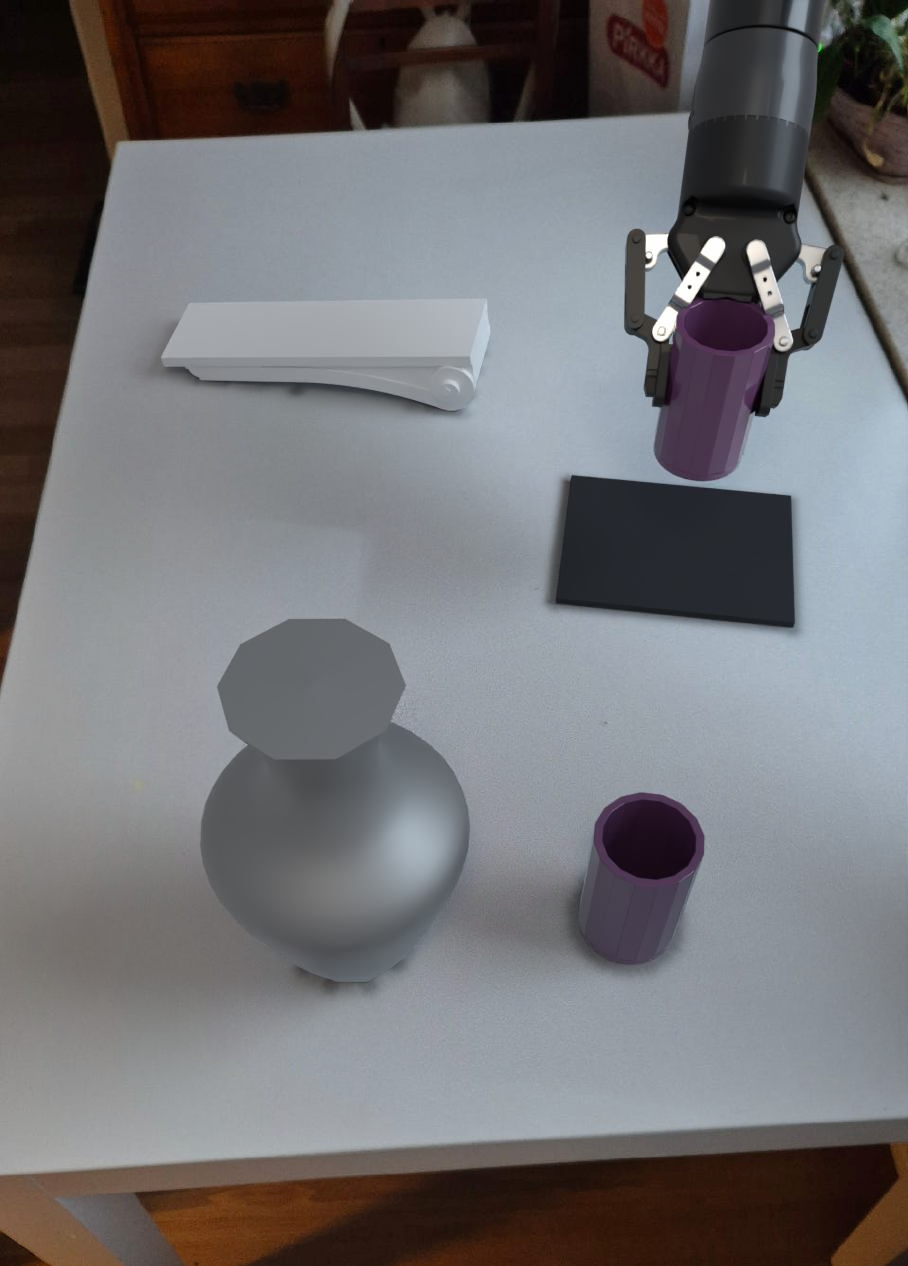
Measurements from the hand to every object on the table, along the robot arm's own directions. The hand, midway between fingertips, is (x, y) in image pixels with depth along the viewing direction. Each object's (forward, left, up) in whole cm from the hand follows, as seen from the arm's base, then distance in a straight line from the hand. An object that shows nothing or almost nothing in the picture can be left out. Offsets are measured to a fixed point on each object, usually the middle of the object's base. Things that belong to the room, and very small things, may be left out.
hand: (710, 409), depth 75 cm
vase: (+19, +34, -16) cm, 42 cm away
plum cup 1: (+2, +30, -16) cm, 34 cm away
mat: (0, -3, -16) cm, 16 cm away
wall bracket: (+32, -22, -16) cm, 42 cm away
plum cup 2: (0, -2, -5) cm, 5 cm away
